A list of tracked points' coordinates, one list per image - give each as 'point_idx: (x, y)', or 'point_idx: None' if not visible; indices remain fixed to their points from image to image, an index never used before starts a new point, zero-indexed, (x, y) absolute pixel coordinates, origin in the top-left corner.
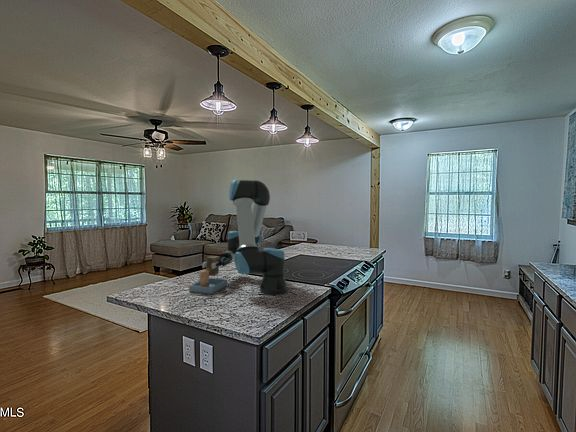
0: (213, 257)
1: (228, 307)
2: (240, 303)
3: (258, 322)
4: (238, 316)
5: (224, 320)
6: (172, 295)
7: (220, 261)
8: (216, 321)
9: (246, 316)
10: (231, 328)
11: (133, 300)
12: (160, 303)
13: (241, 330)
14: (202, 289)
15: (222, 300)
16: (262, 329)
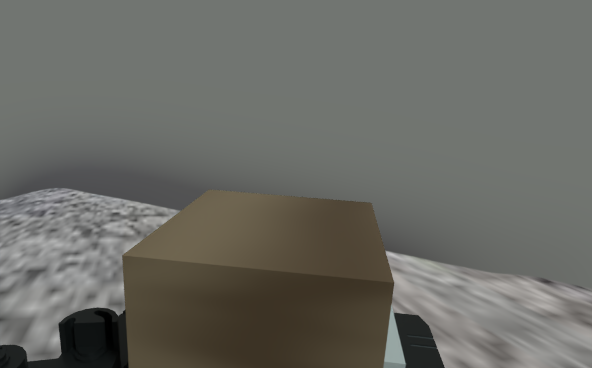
0: (238, 203)
1: (99, 261)
2: (26, 290)
3: (25, 210)
4: (76, 226)
5: (124, 215)
6: (442, 347)
7: (83, 331)
8: (147, 212)
9: (48, 226)
10: (110, 199)
11: (532, 288)
12: (395, 274)
13: (87, 195)
14: None
15: (120, 311)
16: (32, 197)
